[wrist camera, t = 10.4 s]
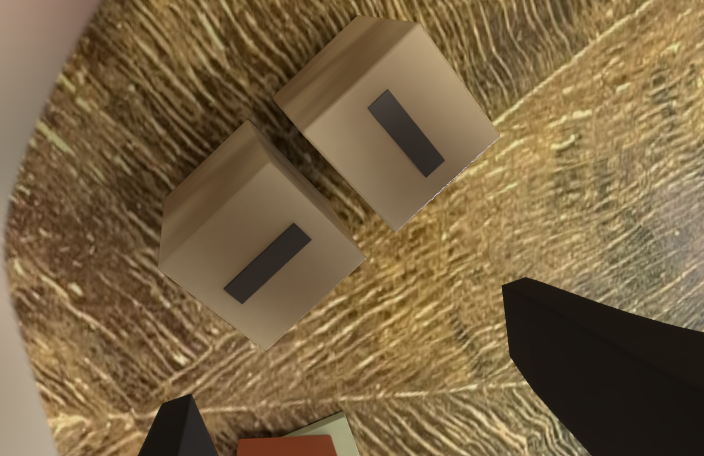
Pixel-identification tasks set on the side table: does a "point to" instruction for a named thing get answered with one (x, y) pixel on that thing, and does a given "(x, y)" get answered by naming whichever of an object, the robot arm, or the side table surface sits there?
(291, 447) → the red slotted block
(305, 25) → the side table surface
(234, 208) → the beige dark-barred block
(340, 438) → the word mat
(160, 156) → the side table surface
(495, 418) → the side table surface
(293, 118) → the tan rectangular block
